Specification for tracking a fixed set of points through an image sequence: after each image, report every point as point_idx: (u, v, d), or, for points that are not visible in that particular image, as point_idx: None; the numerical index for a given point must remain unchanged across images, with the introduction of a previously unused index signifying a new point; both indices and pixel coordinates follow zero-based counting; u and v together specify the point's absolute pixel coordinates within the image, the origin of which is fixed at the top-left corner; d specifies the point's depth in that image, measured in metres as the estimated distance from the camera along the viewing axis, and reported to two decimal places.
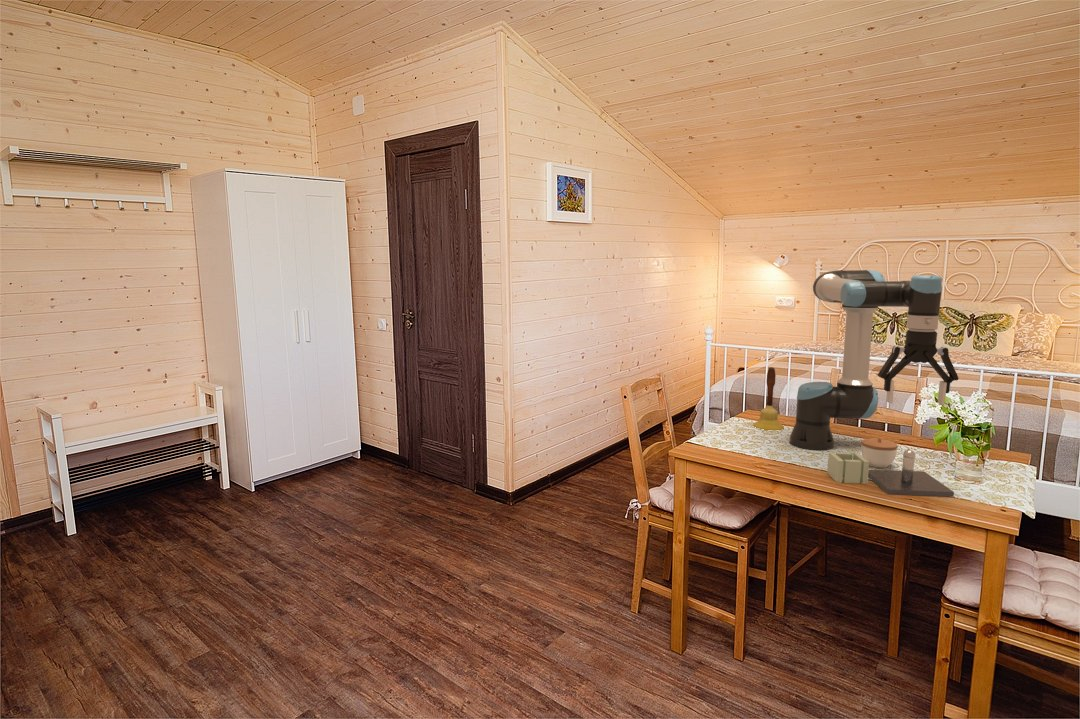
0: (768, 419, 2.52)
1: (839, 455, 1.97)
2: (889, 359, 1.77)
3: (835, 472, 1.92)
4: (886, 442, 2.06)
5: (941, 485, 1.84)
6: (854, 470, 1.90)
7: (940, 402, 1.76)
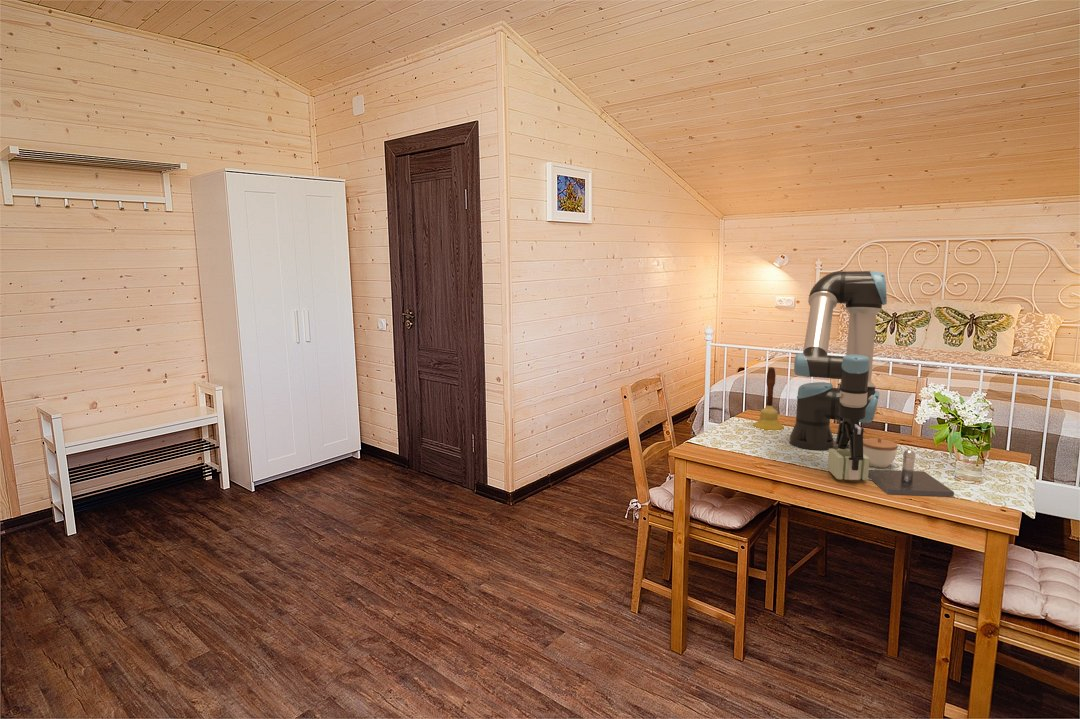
0: (768, 419, 2.52)
1: (839, 451, 1.97)
2: None
3: (836, 469, 1.93)
4: (886, 442, 2.06)
5: (941, 485, 1.84)
6: None
7: None
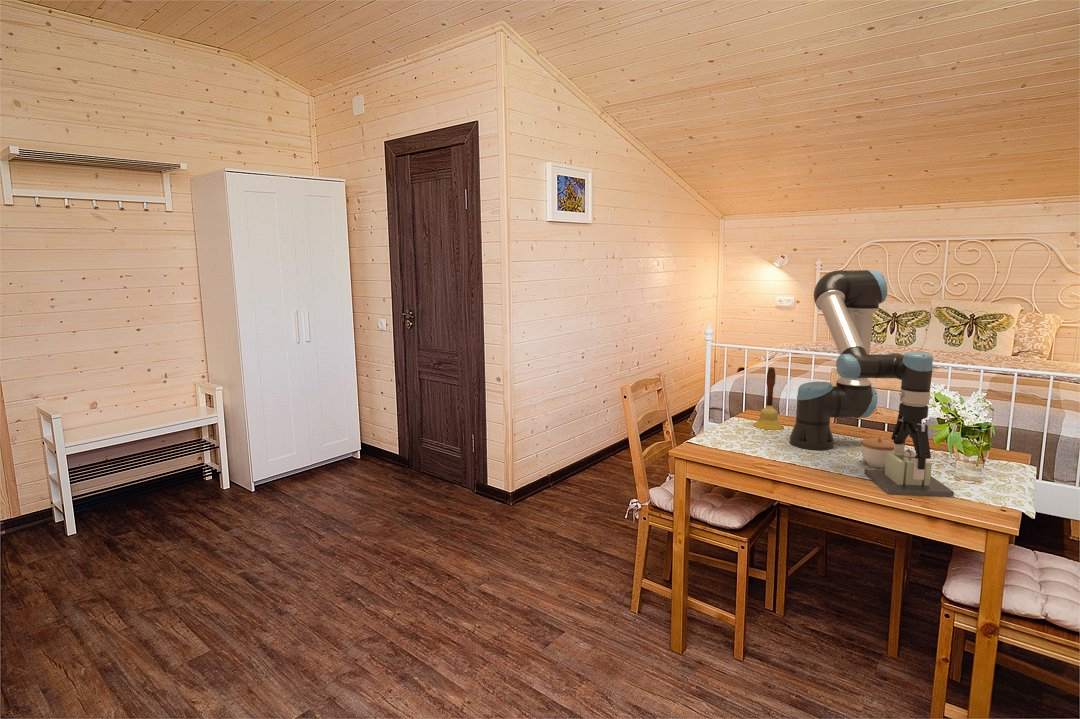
0: (768, 419, 2.52)
1: (898, 456, 1.91)
2: None
3: (895, 474, 1.86)
4: (886, 442, 2.06)
5: (941, 485, 1.84)
6: None
7: None
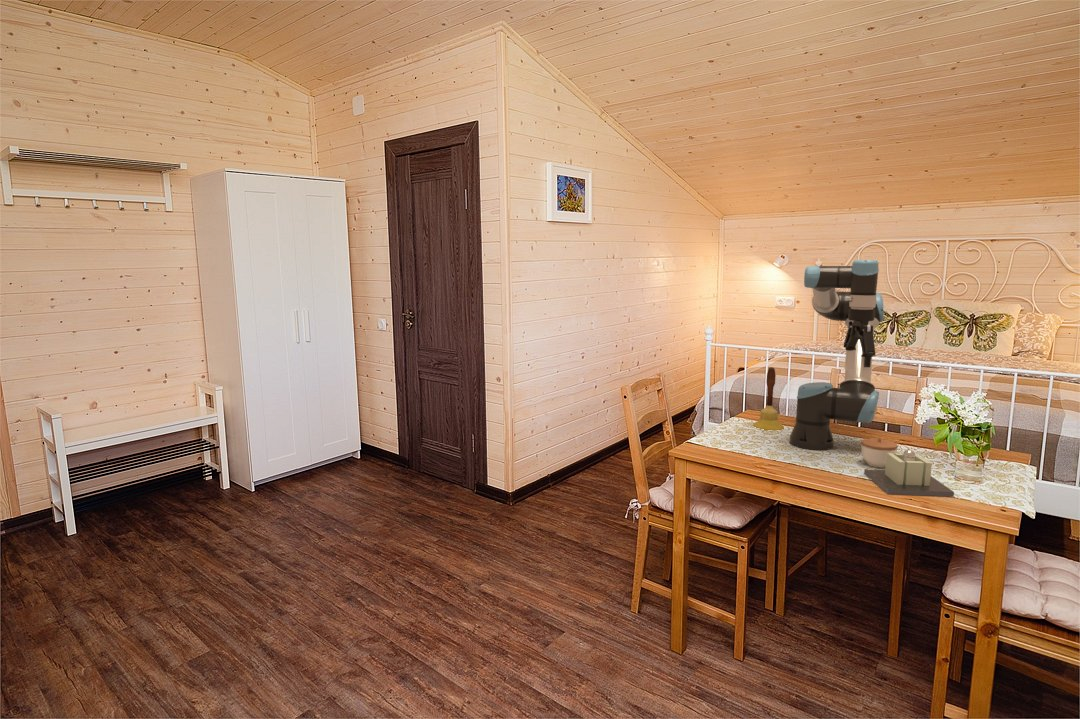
0: (768, 419, 2.52)
1: (898, 456, 1.91)
2: None
3: (895, 474, 1.86)
4: (886, 442, 2.06)
5: (941, 485, 1.84)
6: (916, 472, 1.84)
7: None
